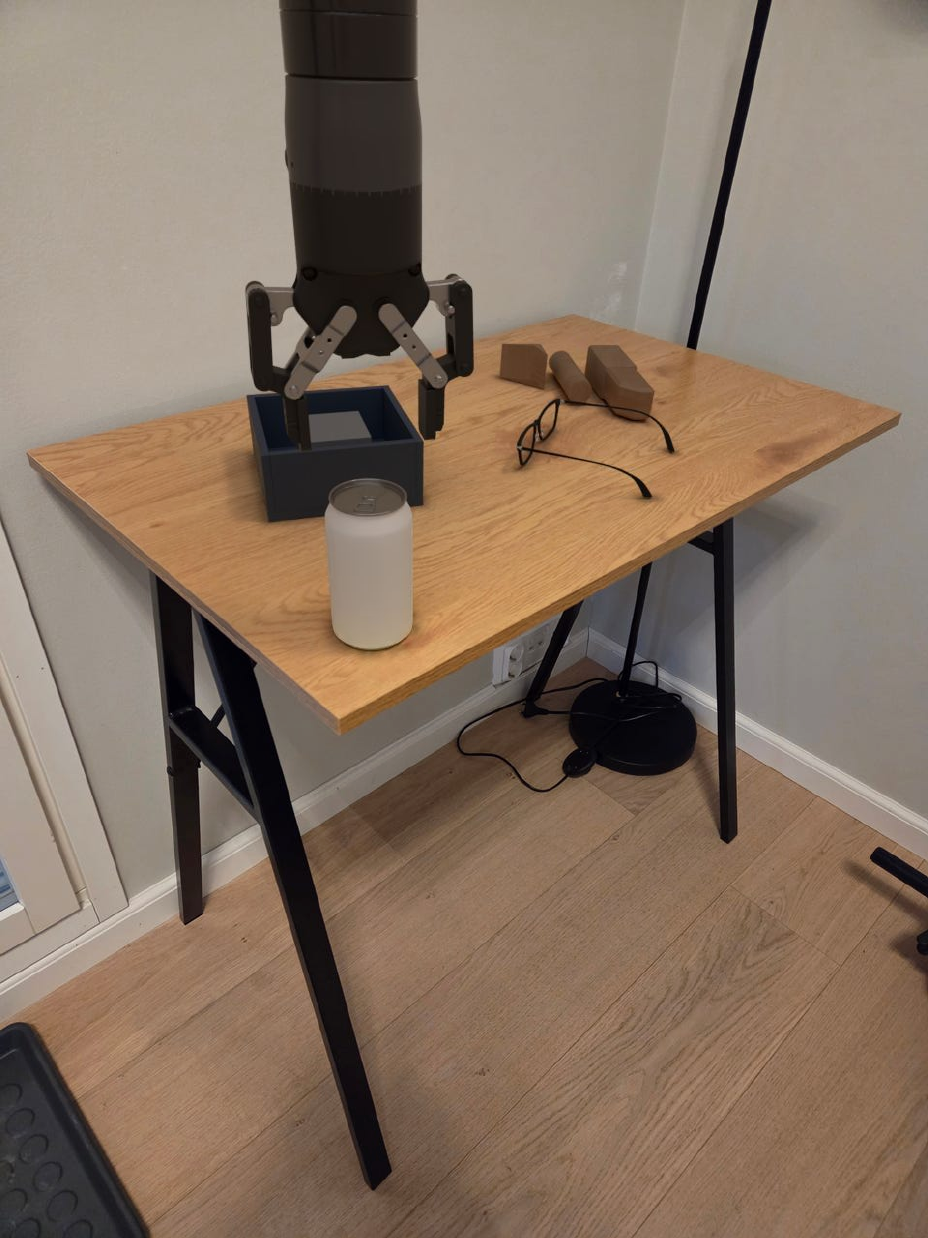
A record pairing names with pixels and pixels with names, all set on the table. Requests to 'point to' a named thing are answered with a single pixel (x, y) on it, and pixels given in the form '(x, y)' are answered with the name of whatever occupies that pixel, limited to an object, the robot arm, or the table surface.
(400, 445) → the crate
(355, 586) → the can
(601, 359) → the wooden block set
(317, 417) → the grey block
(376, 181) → the robot arm
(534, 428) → the eyeglasses
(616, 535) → the table surface
